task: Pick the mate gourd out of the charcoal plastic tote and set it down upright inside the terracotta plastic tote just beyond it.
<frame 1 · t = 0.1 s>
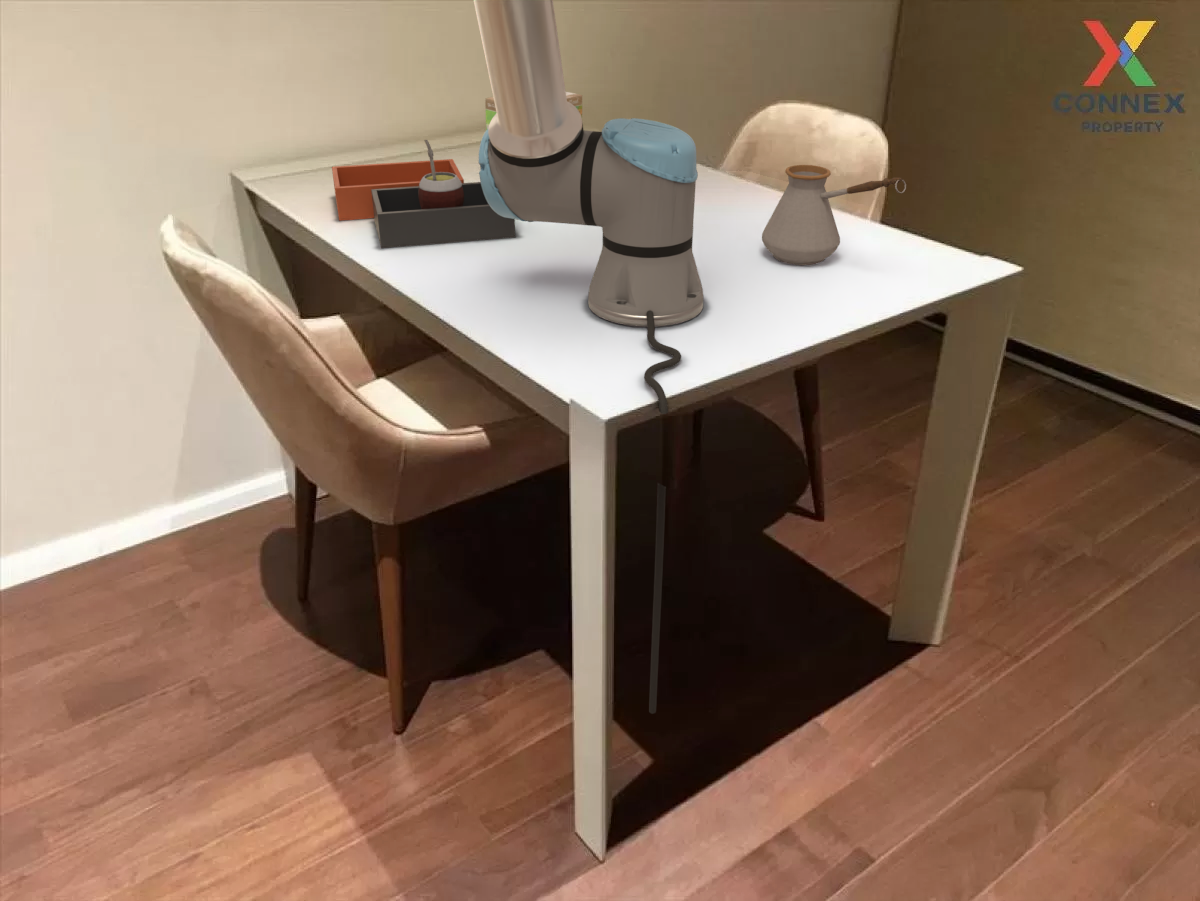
terracotta tote: (399, 204, 176), on the table
mate gourd: (443, 228, 165), resting on charcoal tote
tea box: (535, 179, 190), on the table
charcoal tote: (443, 229, 165), on the table
coffee pot: (825, 266, 152), on the table
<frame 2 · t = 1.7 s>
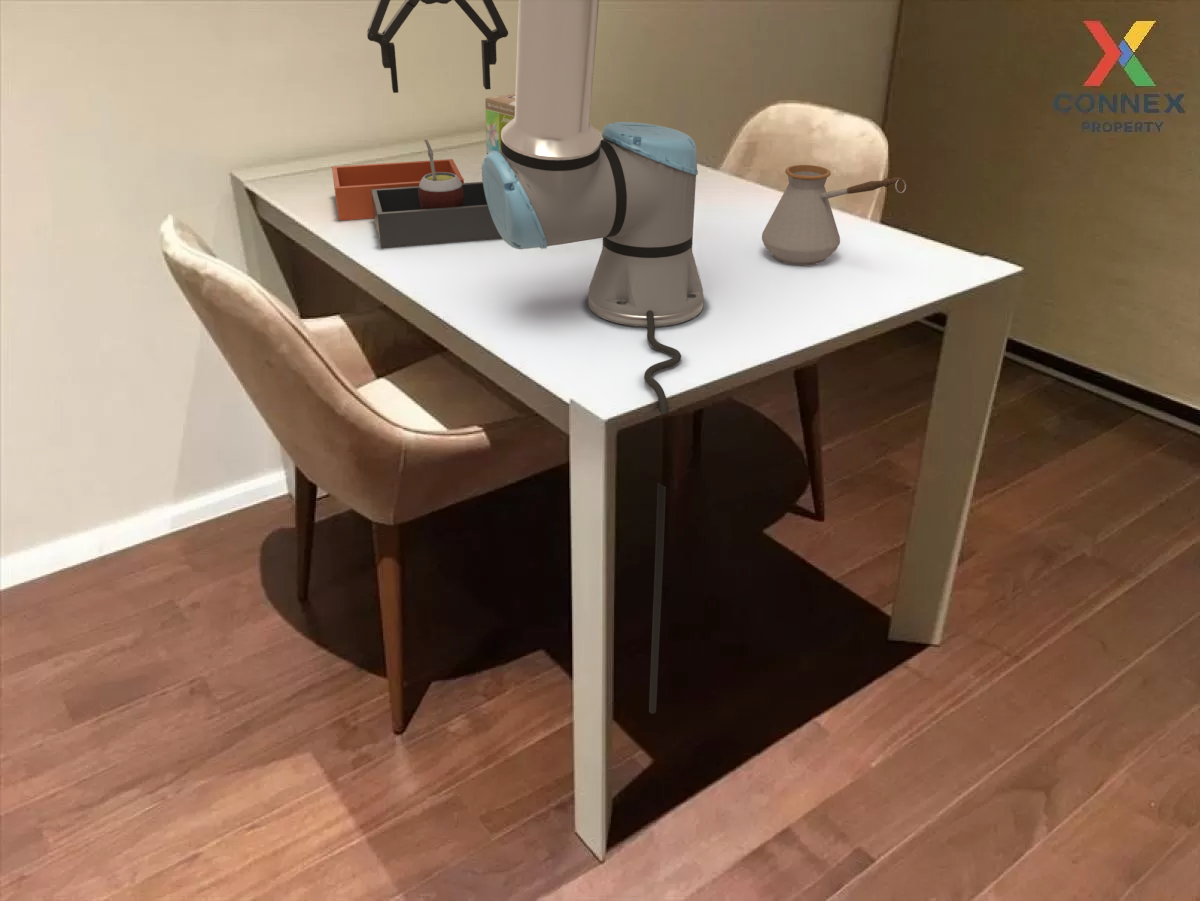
hand: (441, 89, 155), 21 cm above the table, tool pointing down, fingers open, 13 cm apart
nothing on the table moved.
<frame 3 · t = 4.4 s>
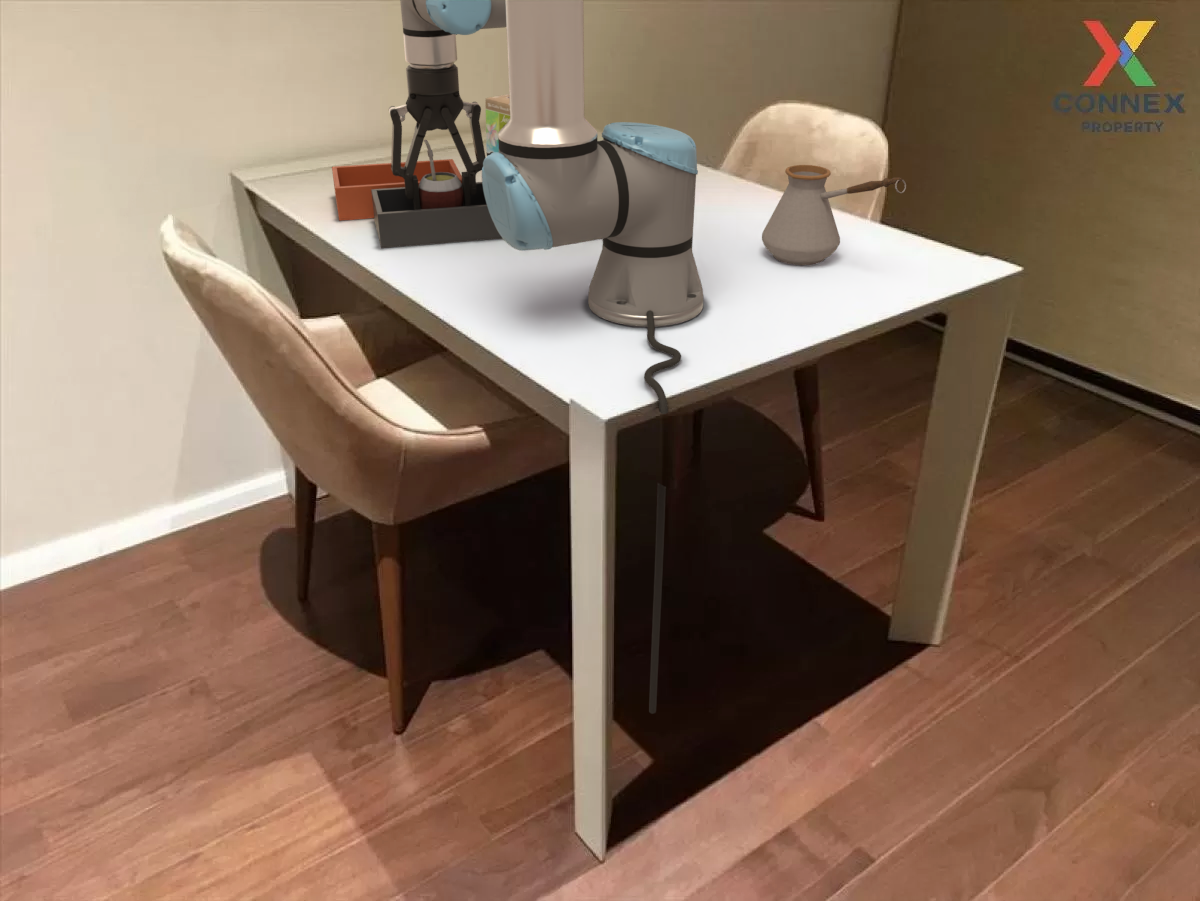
hand: (442, 216, 164), 2 cm above the table, tool pointing down, fingers closed on mate gourd, 7 cm apart
mate gourd: (443, 228, 165), resting on charcoal tote, touching gripper
everything else where it was.
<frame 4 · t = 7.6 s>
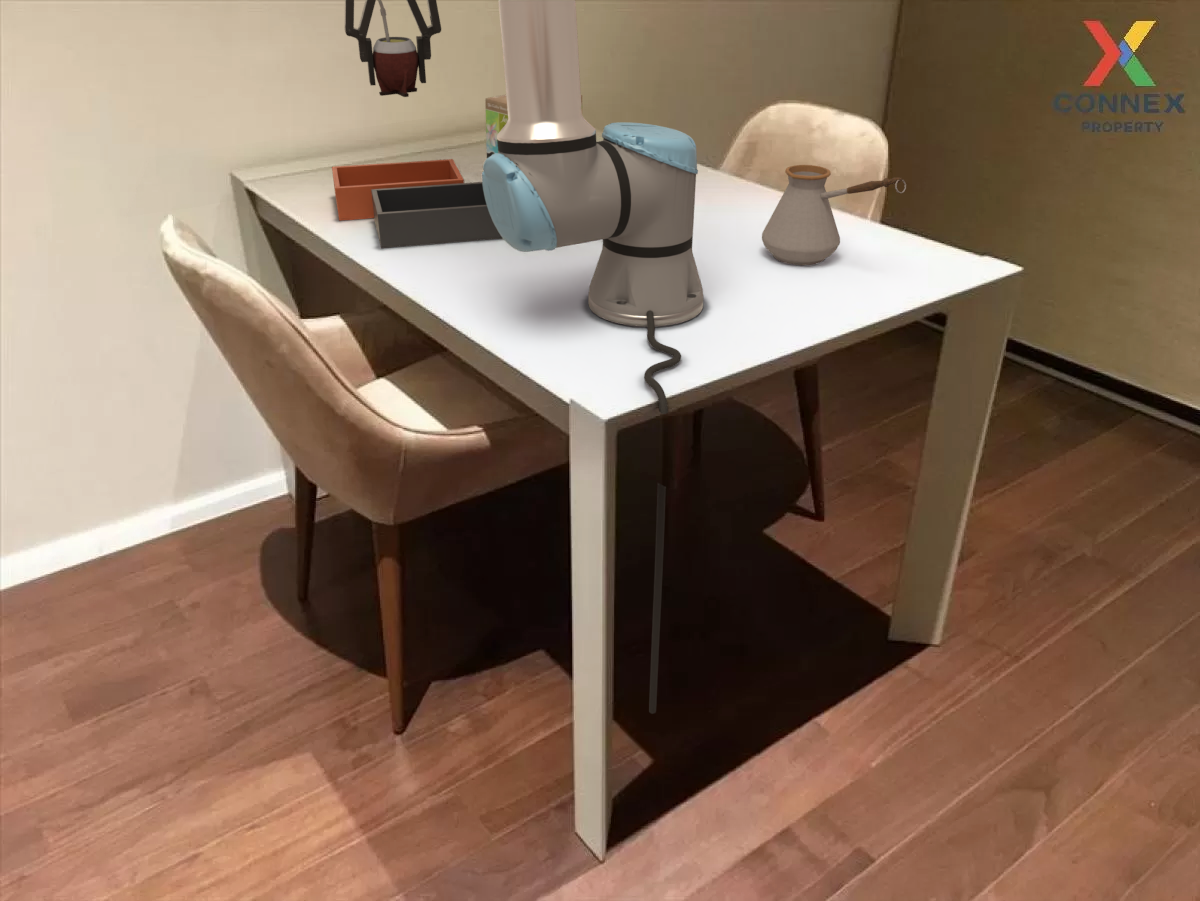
hand: (397, 82, 163), 20 cm above the table, tool pointing down, fingers closed on mate gourd, 7 cm apart
mate gourd: (398, 95, 164), point 18 cm above the table, touching gripper
everything else where it was.
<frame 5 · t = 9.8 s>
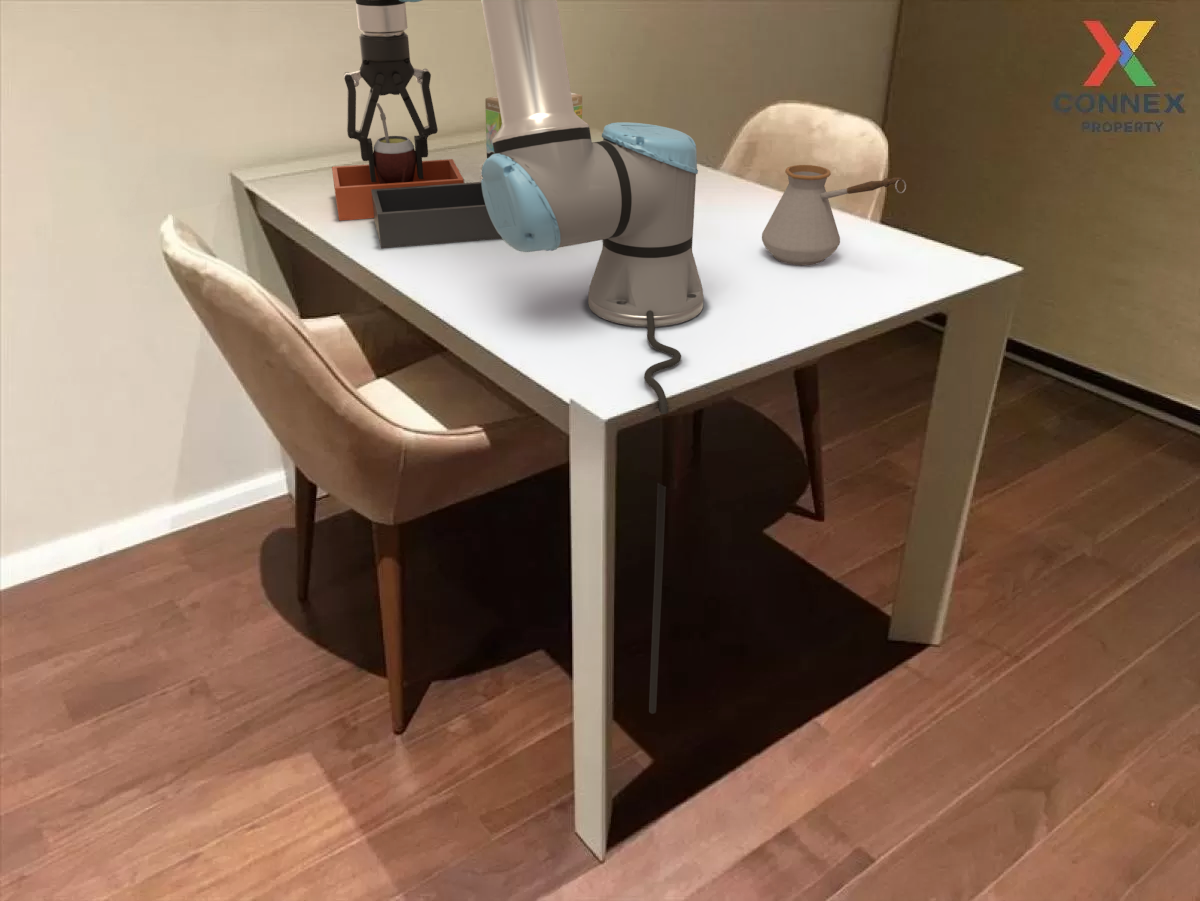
hand: (396, 178, 174), 4 cm above the table, tool pointing down, fingers closed on mate gourd, 7 cm apart
mate gourd: (397, 189, 175), point 2 cm above the table, touching gripper
everything else where it was.
when the fingers open (2 cm above the table, at t = 10.9 s): mate gourd stays where it is, resting on terracotta tote.
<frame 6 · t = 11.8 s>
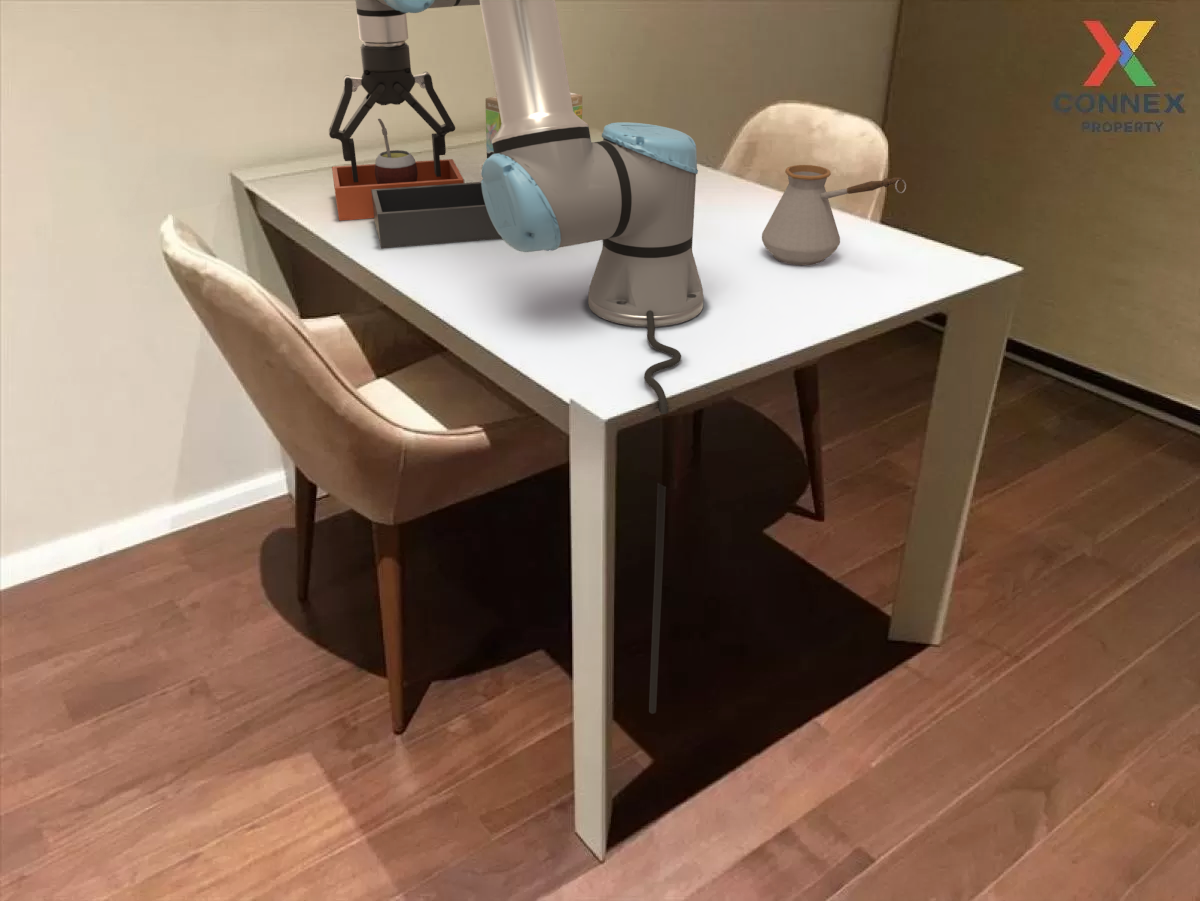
hand: (397, 177, 174), 5 cm above the table, tool pointing down, fingers open, 13 cm apart
mate gourd: (398, 203, 176), resting on terracotta tote
everything else where it was.
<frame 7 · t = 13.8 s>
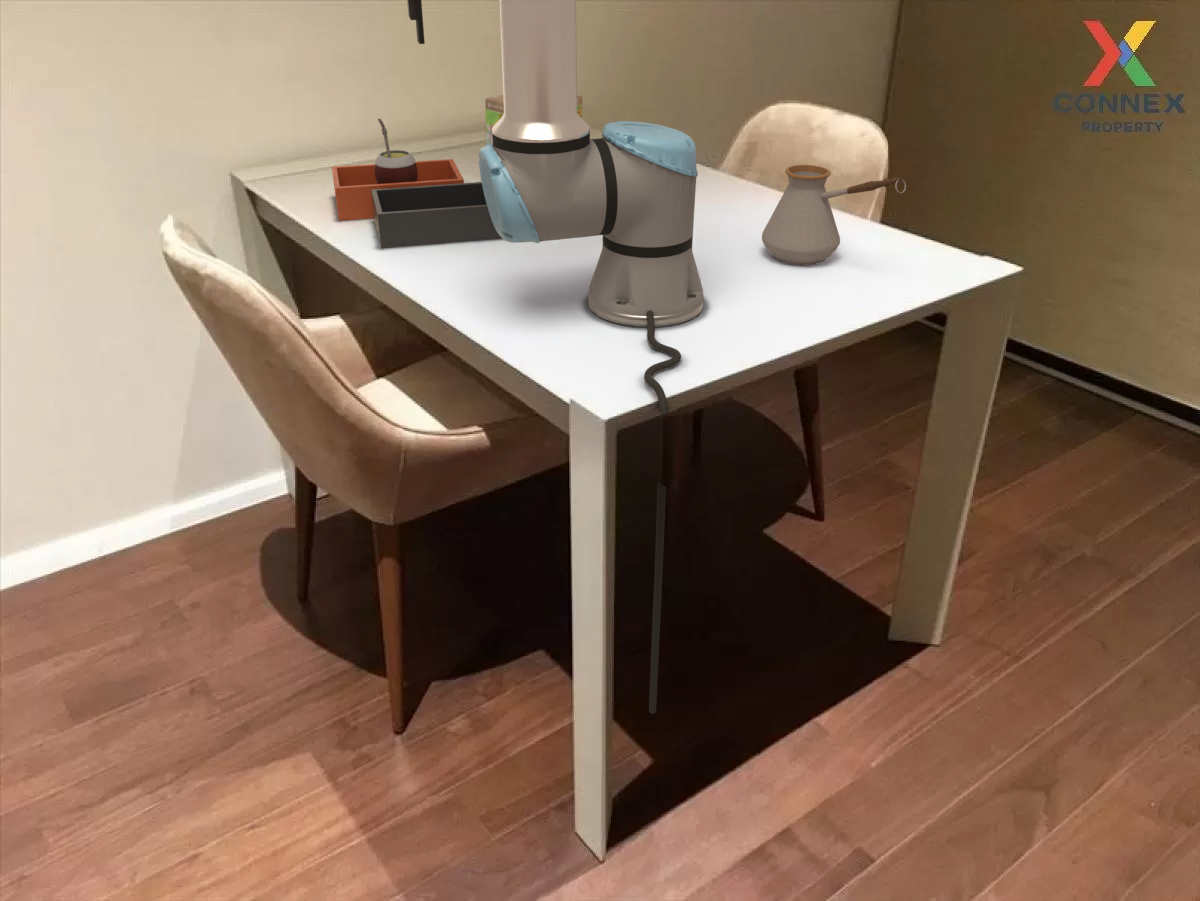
hand: (464, 41, 162), 26 cm above the table, tool pointing down, fingers open, 13 cm apart
nothing on the table moved.
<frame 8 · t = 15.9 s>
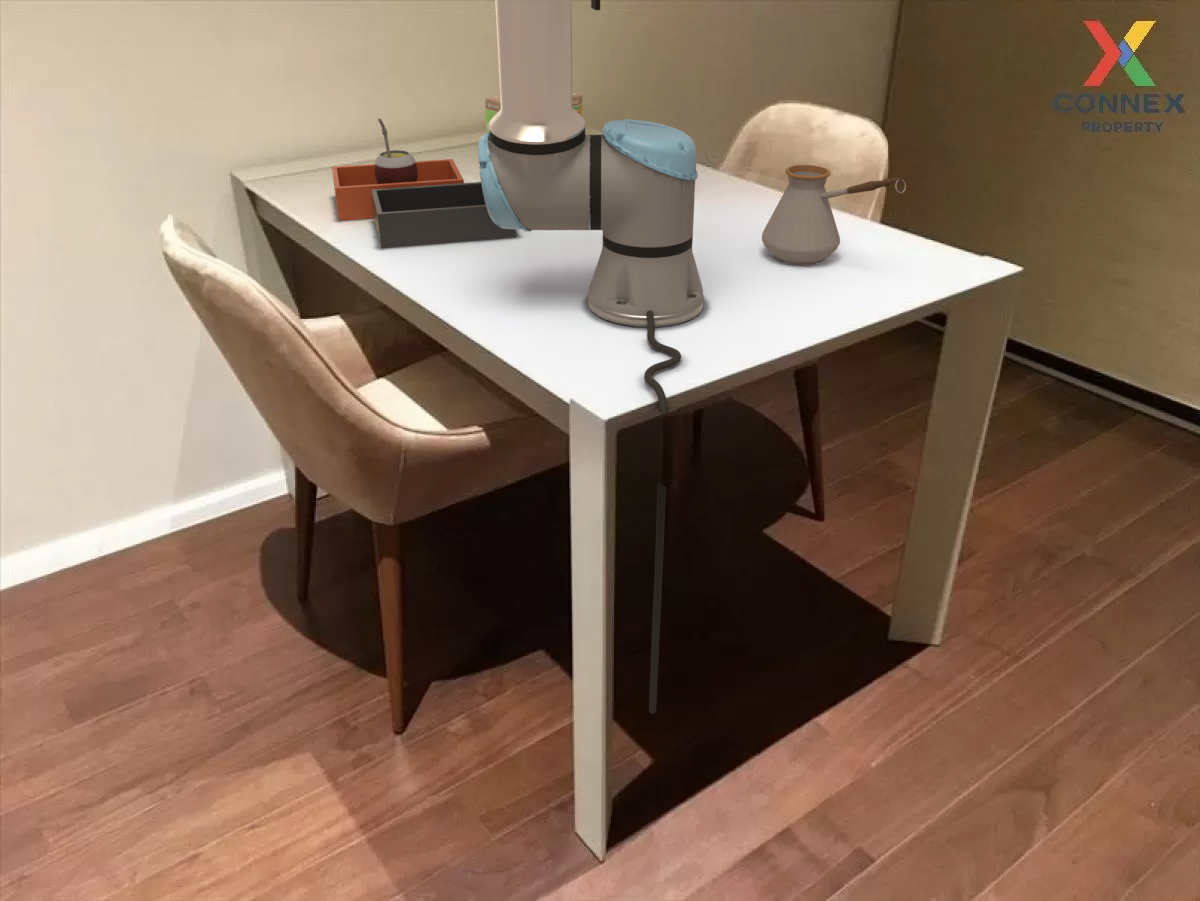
hand: (552, 10, 160), 31 cm above the table, tool pointing down, fingers open, 13 cm apart
nothing on the table moved.
at the end: mate gourd inside the target area in the terracotta tote (0.1 cm from its centre), point 0.1 cm above the terracotta tote's base; mate gourd tilted 0°; the gripper is holding nothing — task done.
